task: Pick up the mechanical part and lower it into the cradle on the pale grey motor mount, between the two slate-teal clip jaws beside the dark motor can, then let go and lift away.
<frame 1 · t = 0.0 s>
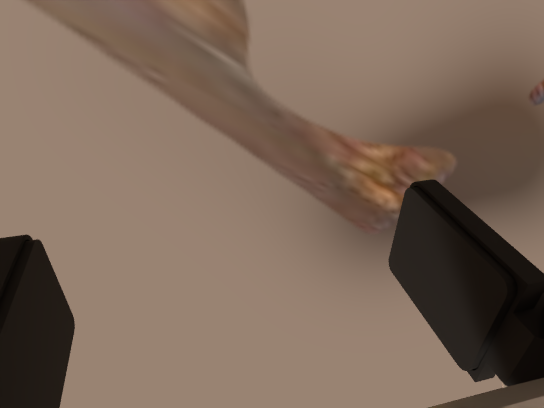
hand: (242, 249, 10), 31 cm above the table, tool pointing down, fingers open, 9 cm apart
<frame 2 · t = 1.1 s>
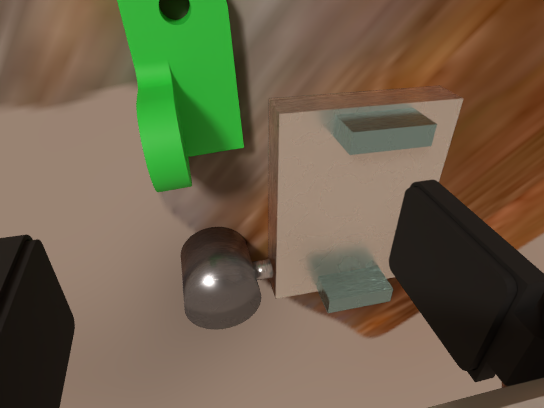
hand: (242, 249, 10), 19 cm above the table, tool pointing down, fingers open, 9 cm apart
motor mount: (344, 191, 35), on the table
mechanical part: (184, 59, 26), on the table
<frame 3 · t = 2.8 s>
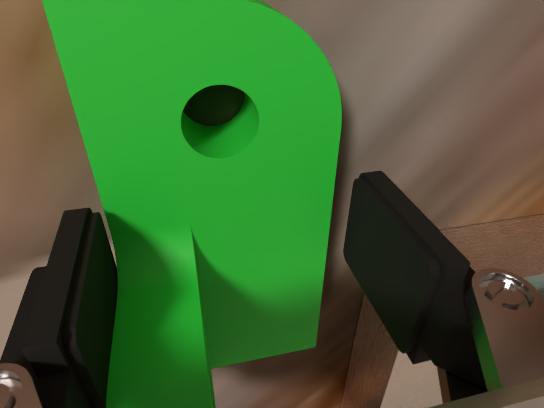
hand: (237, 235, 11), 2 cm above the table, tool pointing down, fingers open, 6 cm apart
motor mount: (465, 346, 22), on the table
mechanical part: (219, 195, 13), on the table
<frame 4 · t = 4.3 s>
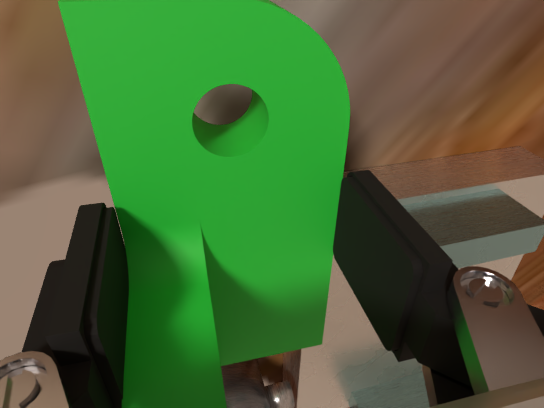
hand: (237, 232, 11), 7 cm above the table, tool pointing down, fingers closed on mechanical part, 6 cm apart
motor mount: (385, 280, 26), on the table
mechanical part: (226, 193, 13), point 5 cm above the table, touching gripper
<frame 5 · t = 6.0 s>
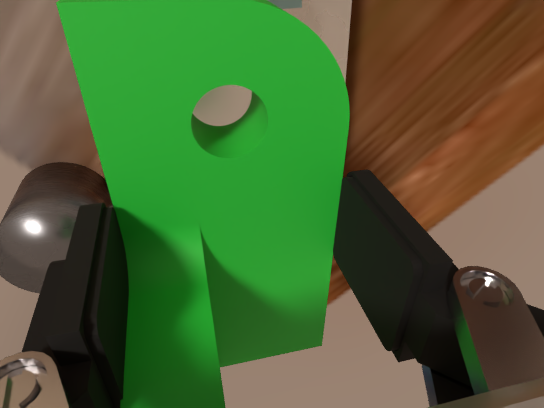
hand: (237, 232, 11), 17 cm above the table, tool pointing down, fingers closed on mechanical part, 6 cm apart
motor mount: (230, 111, 27), on the table
mechanical part: (226, 194, 13), point 15 cm above the table, touching gripper
when the fingers open (6 cm above the table, at t = 9.0 s): mechanical part stays where it is, resting on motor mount.
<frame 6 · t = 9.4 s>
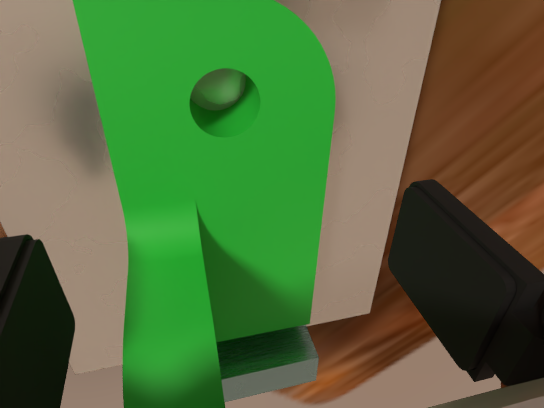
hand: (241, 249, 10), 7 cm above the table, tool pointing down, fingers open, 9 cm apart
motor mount: (210, 140, 16), on the table
mechanical part: (220, 177, 14), point 3 cm above the table, touching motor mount
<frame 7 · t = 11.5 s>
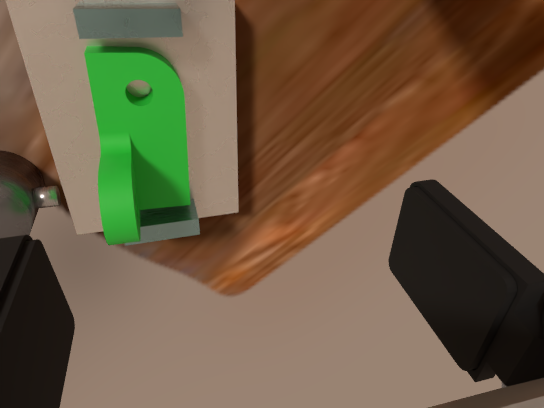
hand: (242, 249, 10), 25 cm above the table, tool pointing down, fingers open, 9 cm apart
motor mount: (146, 114, 32), on the table
mechanical part: (144, 128, 30), point 3 cm above the table, touching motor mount
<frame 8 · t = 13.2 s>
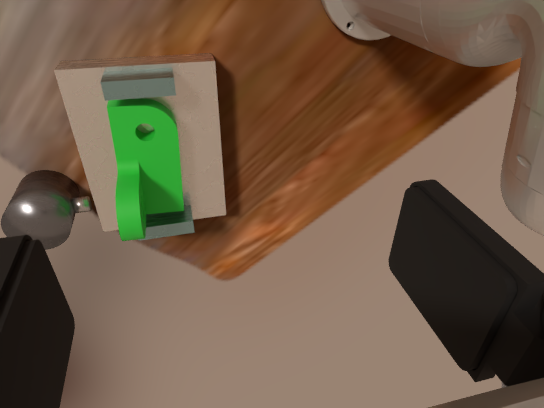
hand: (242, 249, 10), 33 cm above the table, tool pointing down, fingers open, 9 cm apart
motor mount: (154, 141, 43), on the table
mechanical part: (149, 154, 40), point 3 cm above the table, touching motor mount
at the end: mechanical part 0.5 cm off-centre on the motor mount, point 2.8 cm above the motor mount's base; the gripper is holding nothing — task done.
